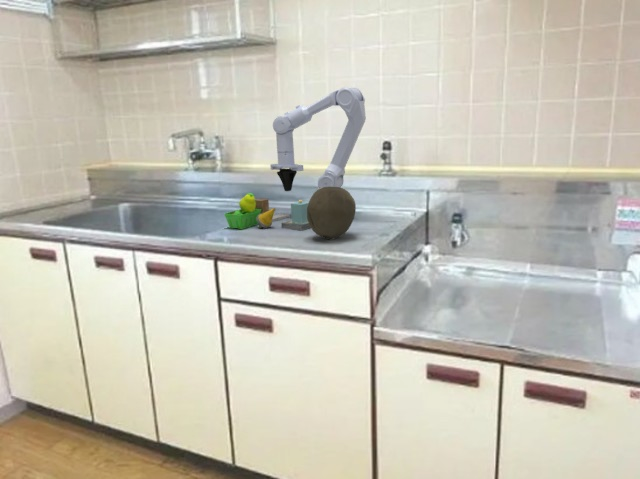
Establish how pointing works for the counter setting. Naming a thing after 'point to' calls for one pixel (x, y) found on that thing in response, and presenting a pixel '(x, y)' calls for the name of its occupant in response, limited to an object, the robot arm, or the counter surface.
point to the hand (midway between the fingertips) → (288, 190)
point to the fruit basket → (244, 213)
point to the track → (279, 217)
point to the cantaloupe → (331, 212)
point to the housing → (299, 212)
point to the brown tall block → (262, 205)
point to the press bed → (296, 225)
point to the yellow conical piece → (265, 219)
